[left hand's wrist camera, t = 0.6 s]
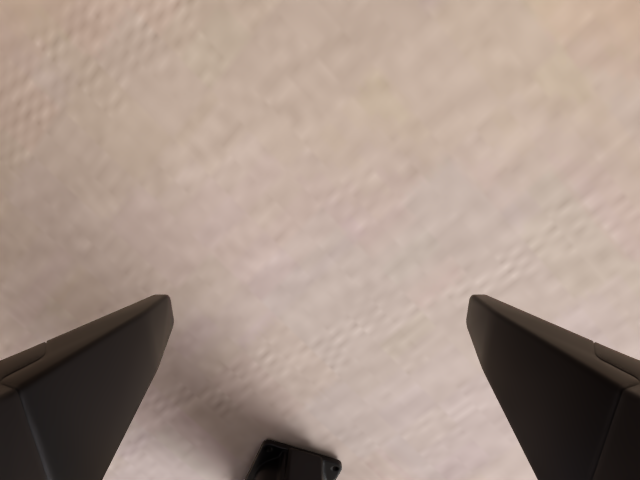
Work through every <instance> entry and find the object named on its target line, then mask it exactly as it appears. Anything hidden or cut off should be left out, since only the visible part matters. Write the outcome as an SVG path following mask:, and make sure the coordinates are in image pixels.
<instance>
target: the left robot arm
mask: <svg viewBox="0 0 640 480" xmlns="http://www.w3.org/2000/svg"><path fill="white" fill-rule="evenodd" d="M173 323H174V319H173V312H172V306H171V300H170V297H169V296H168V295H153V296H150V297H148V298H146V299H143V300H141V301H139V302H137V303H134V304H132V305H130V306H127V307H125V308H123V309H120V310H118V311H116V312H113V313H111V314H109V315H106V316H104V317H102V318H99V319H97V320H95V321H93V322H90V323H88V324H86V325H83V326H81V327H79V328H76V329H74V330H72V331H69V332H67V333H65V334H62V335H60V336H58V337H55V338H53V339H51V340H49V341H47V343H45V342H44V343H41V344H39V345H37V346H34V347H32V348H30V349H27V350H25V351H23V352H20V353H18V354H15V355H13V356H11V357H8V358H6V359H3V360H0V480H102V479H103V477H104V475H105V473H106V471H107V469H108V467H109V465H110V463H111V461H112V459H113V457H114V455H115V453H116V451H117V449H118V447H119V445H120V443H121V441H122V439H123V437H124V435H125V433H126V431H127V429H128V427H129V425H130V423H131V421H132V419H133V417H134V415H135V413H136V411H137V409H138V407H139V405H140V403H141V401H142V399H143V397H144V395H145V393H146V391H147V389H148V387H149V385H150V383H151V381H152V379H153V377H154V375H155V373H156V371H157V369H158V366H159V364H160V361H161V358H162V356H163V353H164V350H165V347H166V345H167V342H168V339H169V336H170V333H171V331H172V328H173ZM466 323H467V328H468V331H469V334H470V336H471V339H472V342H473V345H474V347H475V350H476V353H477V356H478V359H479V361H480V364H481V366H482V369H483V371H484V373H485V375H486V377H487V379H488V381H489V383H490V385H491V387H492V389H493V391H494V393H495V395H496V397H497V399H498V401H499V403H500V405H501V407H502V409H503V411H504V413H505V415H506V417H507V419H508V421H509V423H510V425H511V427H512V429H513V431H514V433H515V435H516V437H517V439H518V441H519V443H520V445H521V447H522V449H523V451H524V453H525V455H526V457H527V459H528V461H529V463H530V465H531V467H532V469H533V471H534V473H535V475H536V477H537V479H538V480H640V361H639V360H637V359H634V358H632V357H629V356H627V355H625V354H622V353H620V352H617V351H615V350H613V349H610V348H608V347H606V346H603V345H601V344H599V343H596V342H595V343H593V341H591V340H589V339H587V338H585V337H582V336H580V335H578V334H575V333H573V332H571V331H568V330H566V329H564V328H561V327H559V326H557V325H554V324H552V323H550V322H547V321H545V320H543V319H541V318H538V317H536V316H534V315H531V314H529V313H527V312H524V311H522V310H520V309H517V308H515V307H513V306H510V305H508V304H506V303H503V302H501V301H499V300H497V299H494V298H492V297H490V296H487V295H472V296H471V297H470V300H469V306H468V312H467V319H466ZM341 470H342V464H341V462H340V461H339V460H337V459H333V458H330V457H327V456H323V455H320V454H316V453H313V452H310V451H306V450H303V449H300V448H296V447H293V446H289V445H286V444H283V443H279V442H276V441H272V440H265V441H264V442H263V443H262V446H261V448H260V450H259V452H258V454H257V456H256V458H255V460H254V462H253V465H252V467H251V469H250V471H249V473H248V475H247V477H246V479H245V480H336V478H337V477H338V475H339V473H340V472H341Z"/></svg>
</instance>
